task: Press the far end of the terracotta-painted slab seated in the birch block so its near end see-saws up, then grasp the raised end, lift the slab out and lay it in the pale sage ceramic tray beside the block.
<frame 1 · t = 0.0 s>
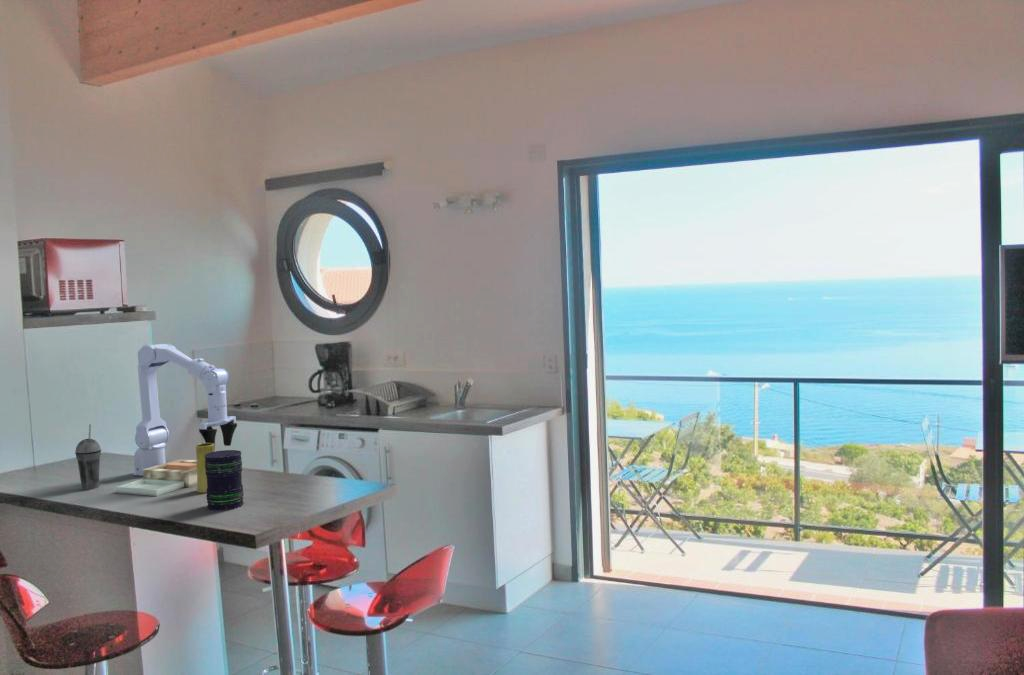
hand: (219, 447, 257), 10 cm above the breakfast bar, tool pointing down, fingers open, 7 cm apart
slab: (182, 473, 258), point 2 cm above the breakfast bar, touching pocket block
storage jar: (225, 506, 224), on the breakfast bar
tray: (150, 489, 245), on the breakfast bar
beverage cup: (90, 488, 250), on the breakfast bar
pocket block: (184, 479, 258), on the breakfast bar
vase: (207, 491, 242), on the breakfast bar
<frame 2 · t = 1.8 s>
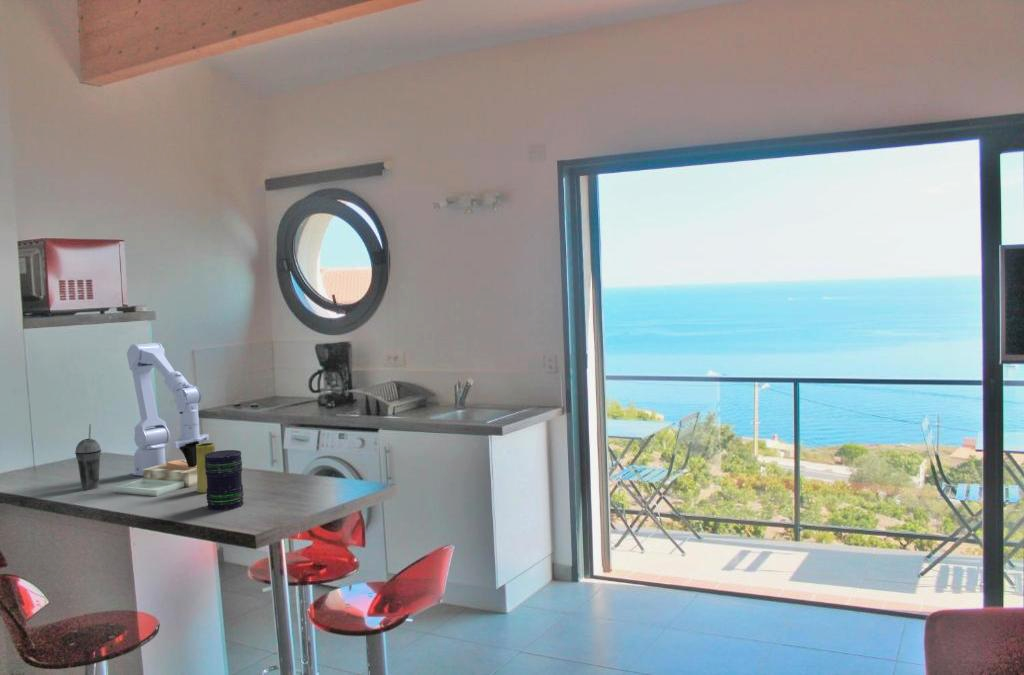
hand: (192, 466, 256), 4 cm above the breakfast bar, tool pointing down, fingers closed, pressing on slab
slab: (182, 473, 258), point 2 cm above the breakfast bar, tilted 8°, touching gripper, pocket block
everything else where it was.
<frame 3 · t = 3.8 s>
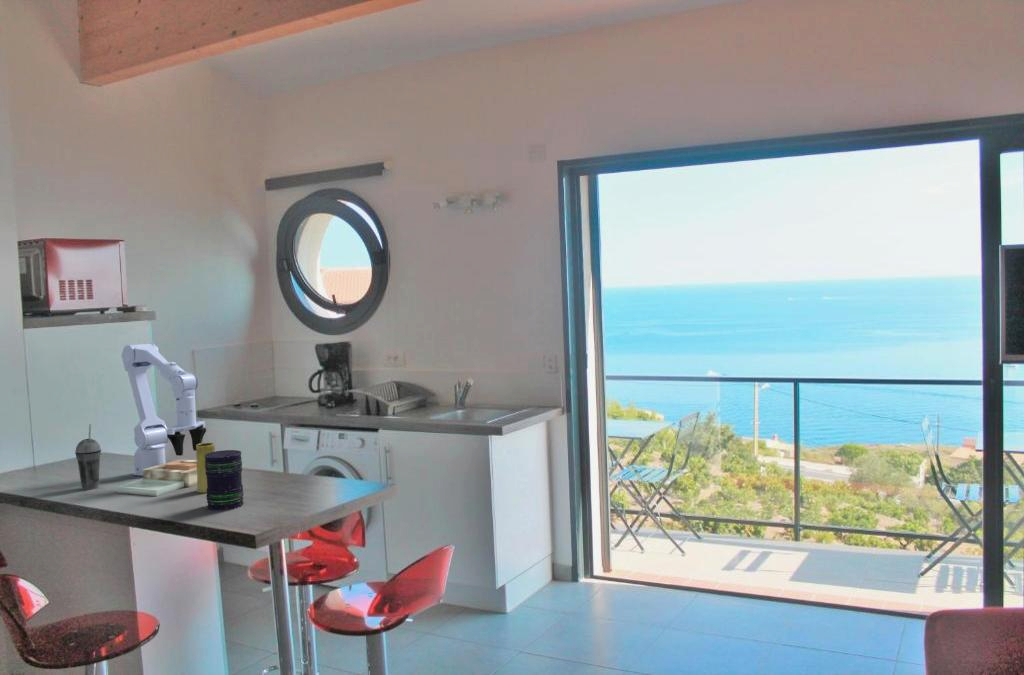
hand: (188, 452, 257), 9 cm above the breakfast bar, tool pointing down, fingers open, 7 cm apart
slab: (181, 473, 258), point 2 cm above the breakfast bar, touching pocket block
everything else where it was.
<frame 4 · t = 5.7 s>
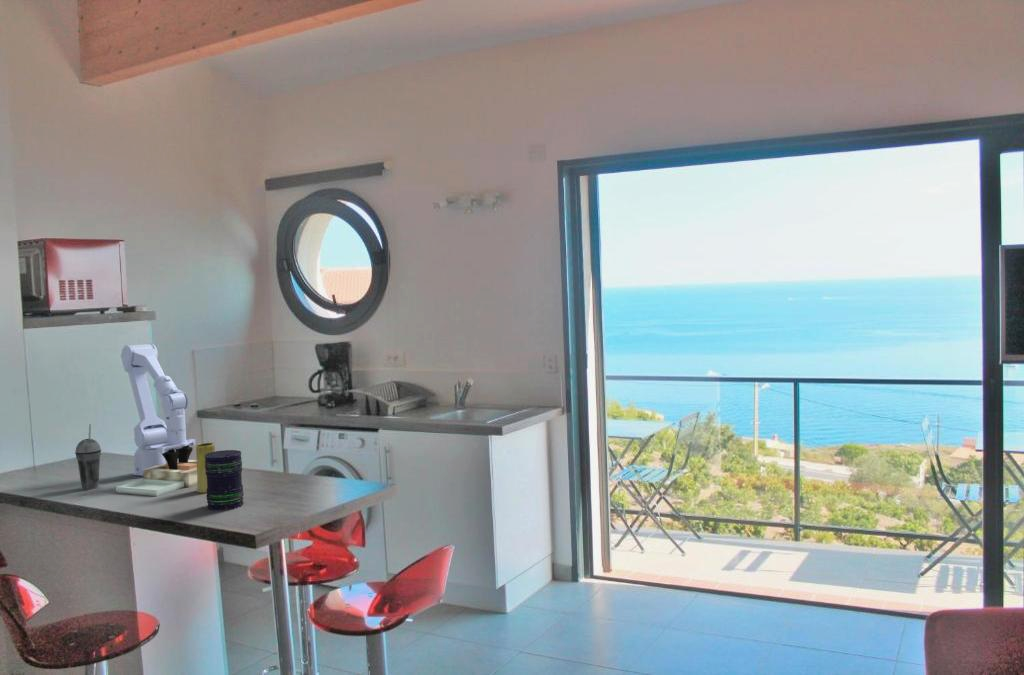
hand: (178, 471, 259), 3 cm above the breakfast bar, tool pointing down, fingers closed on slab, 3 cm apart
slab: (181, 473, 258), point 2 cm above the breakfast bar, touching gripper, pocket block
everything else where it was.
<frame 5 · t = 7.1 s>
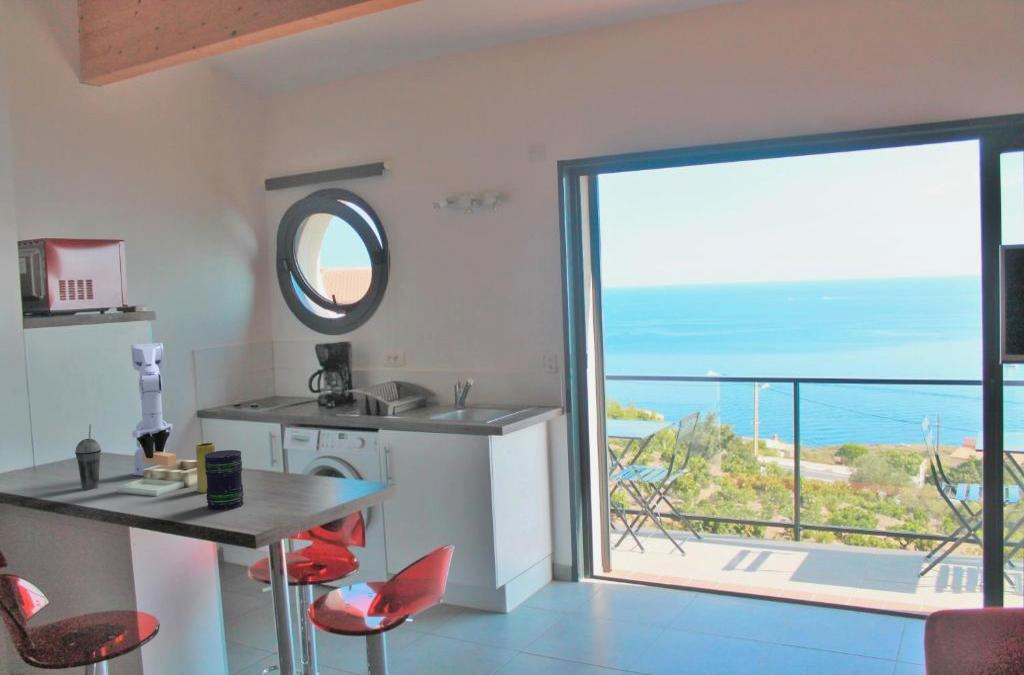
hand: (154, 456, 248), 10 cm above the breakfast bar, tool pointing down, fingers closed on slab, 3 cm apart
slab: (159, 462, 248), point 8 cm above the breakfast bar, tilted 5°, touching gripper
everything else where it was.
when the fingers open (3 cm above the breakfast bar, at t = 9.0 s): slab stays where it is, resting on tray.
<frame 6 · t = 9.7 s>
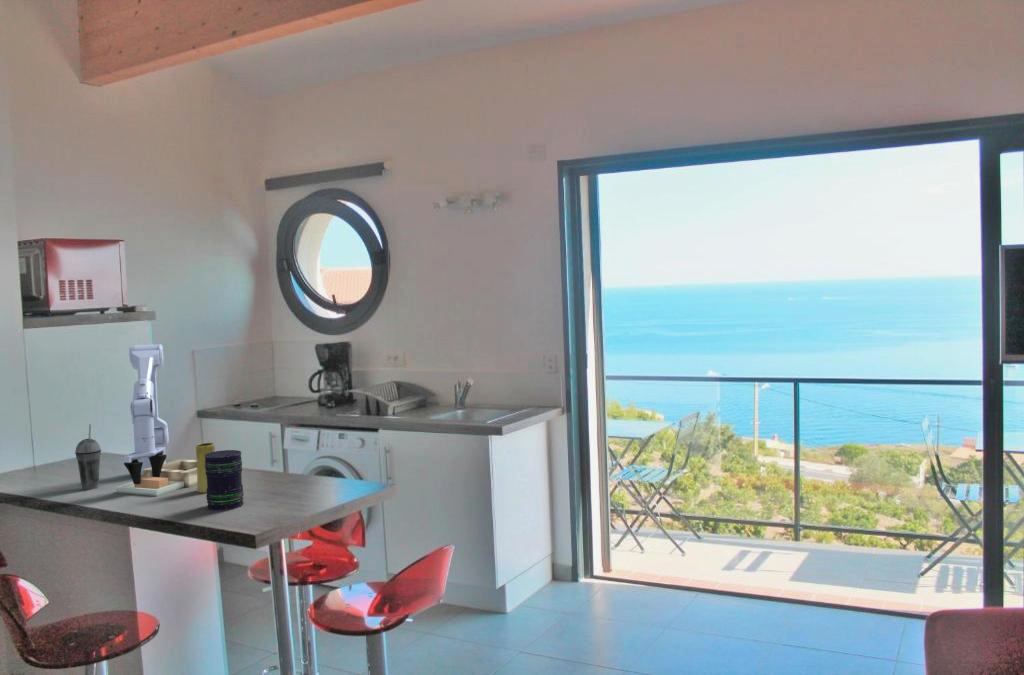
hand: (146, 481, 245), 3 cm above the breakfast bar, tool pointing down, fingers open, 7 cm apart
slab: (151, 488, 245), point 1 cm above the breakfast bar, touching tray
everything else where it was.
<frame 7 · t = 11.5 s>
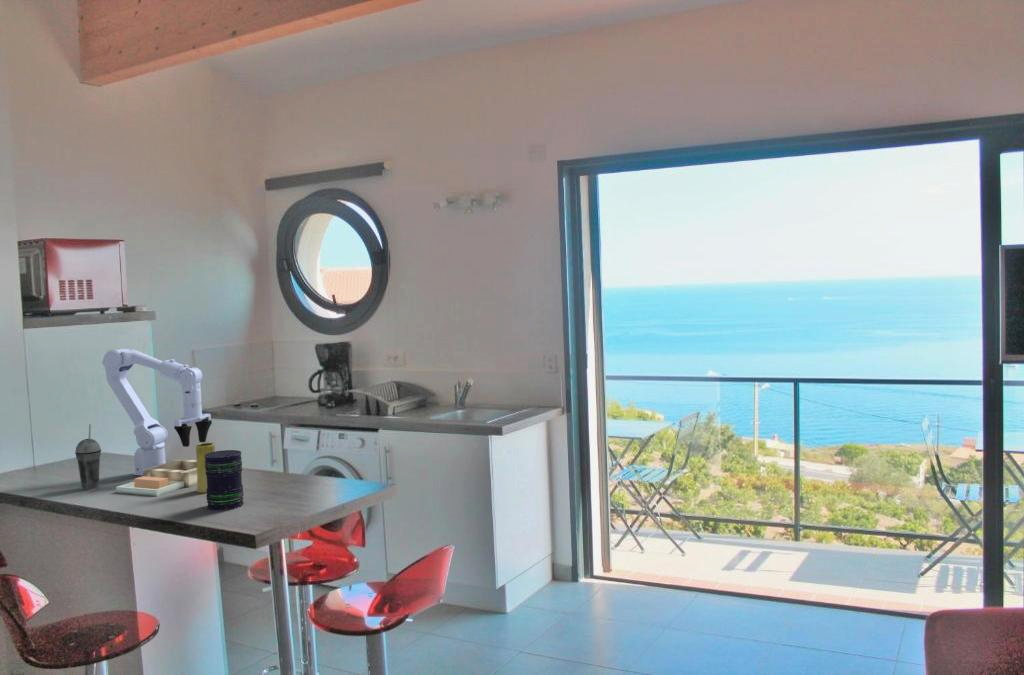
hand: (194, 444, 266), 10 cm above the breakfast bar, tool pointing down, fingers open, 7 cm apart
nothing on the breakfast bar moved.
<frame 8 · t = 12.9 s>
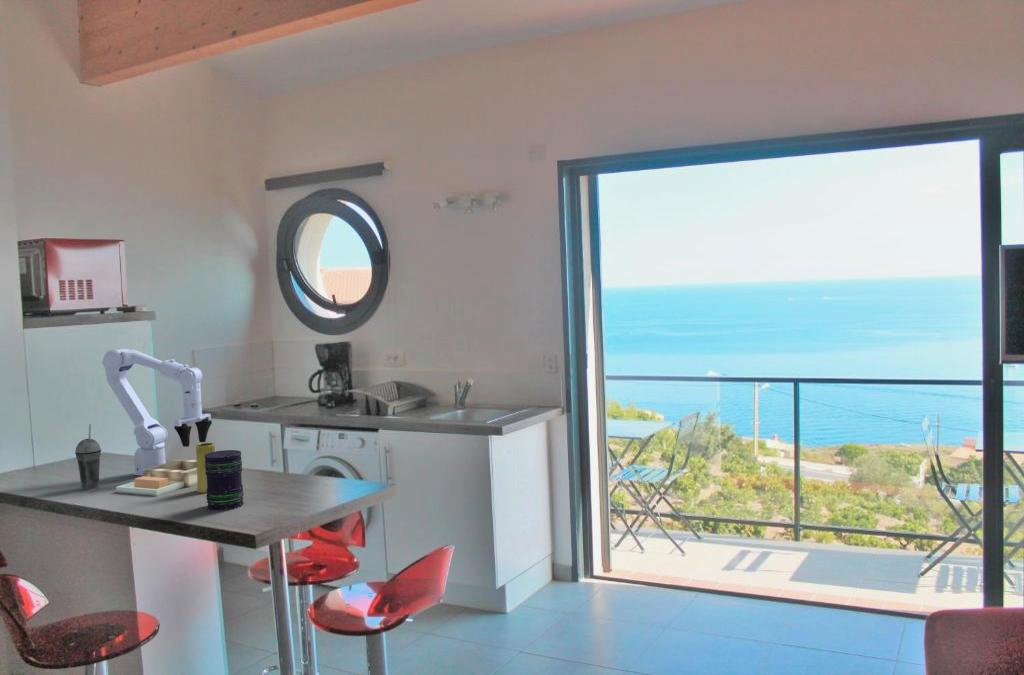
hand: (194, 444, 266), 10 cm above the breakfast bar, tool pointing down, fingers open, 7 cm apart
nothing on the breakfast bar moved.
at the end: slab inside the target area on the tray (0.4 cm from its centre), point 0.6 cm above the tray's base; the gripper is holding nothing; slab moved 14.1 cm from its start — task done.
